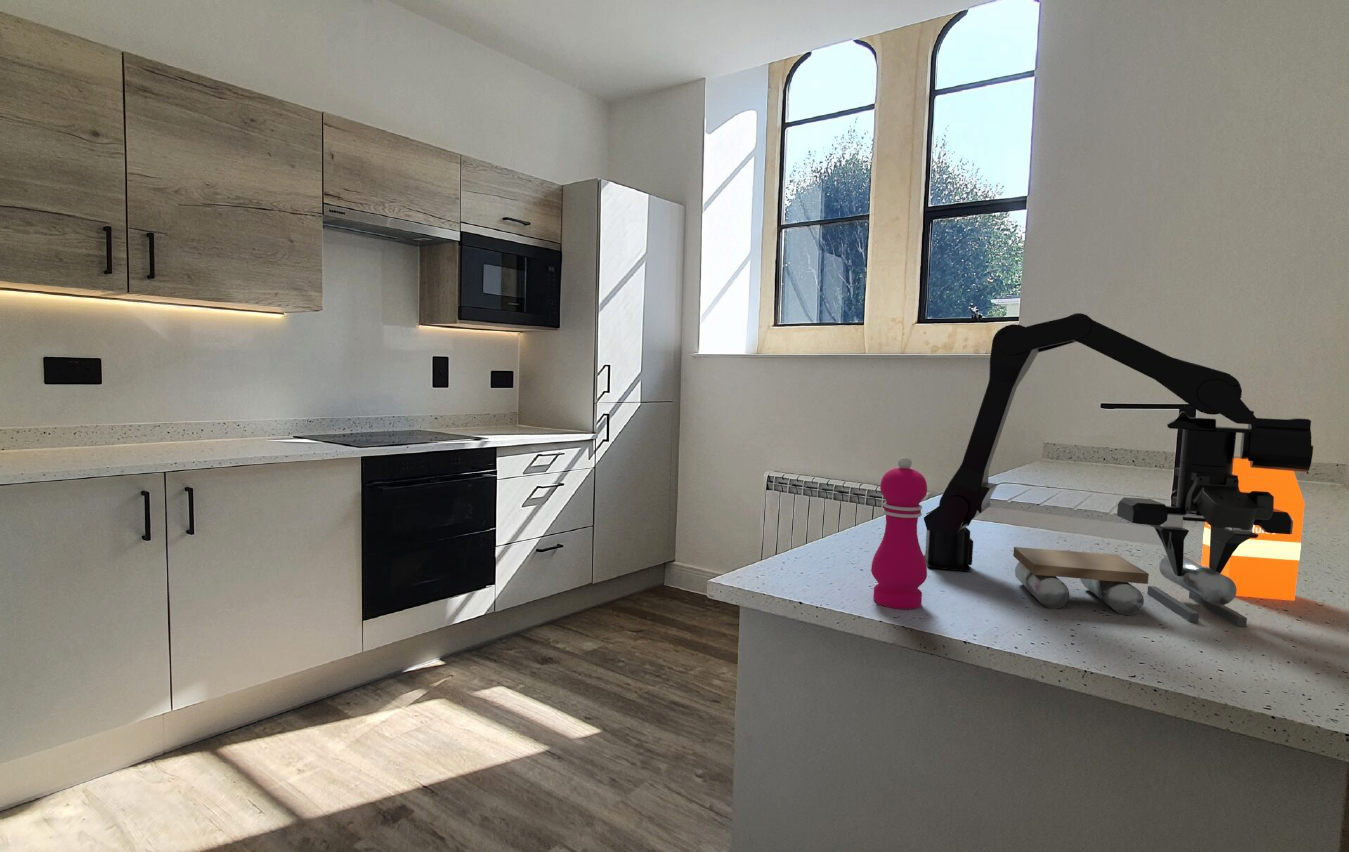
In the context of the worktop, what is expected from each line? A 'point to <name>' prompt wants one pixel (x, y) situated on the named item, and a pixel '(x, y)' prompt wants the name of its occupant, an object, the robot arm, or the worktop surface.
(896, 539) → the pepper mill
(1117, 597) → the track rollers
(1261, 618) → the worktop surface
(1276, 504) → the orange juice
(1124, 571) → the walnut slab
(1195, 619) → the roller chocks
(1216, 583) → the loose roller
